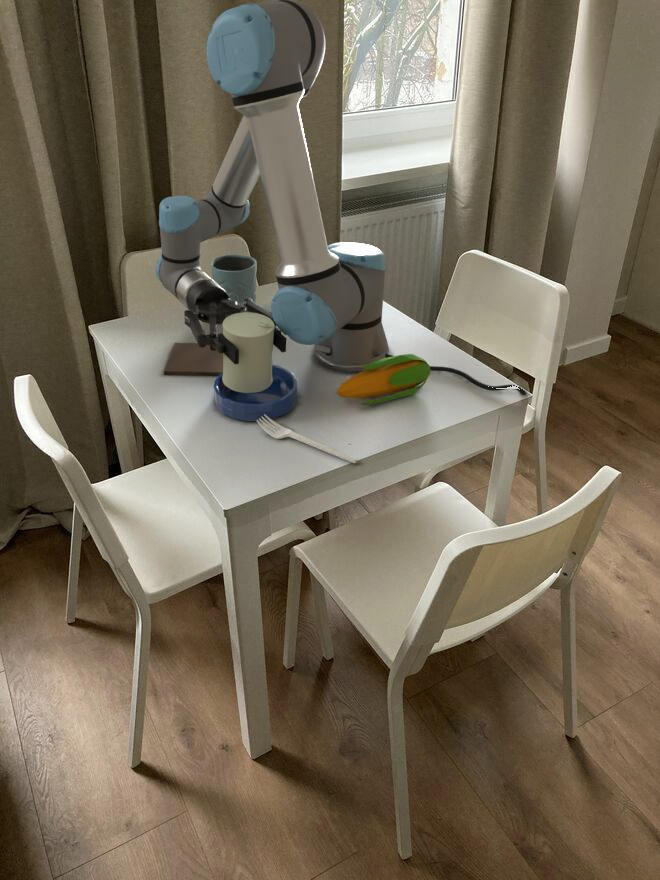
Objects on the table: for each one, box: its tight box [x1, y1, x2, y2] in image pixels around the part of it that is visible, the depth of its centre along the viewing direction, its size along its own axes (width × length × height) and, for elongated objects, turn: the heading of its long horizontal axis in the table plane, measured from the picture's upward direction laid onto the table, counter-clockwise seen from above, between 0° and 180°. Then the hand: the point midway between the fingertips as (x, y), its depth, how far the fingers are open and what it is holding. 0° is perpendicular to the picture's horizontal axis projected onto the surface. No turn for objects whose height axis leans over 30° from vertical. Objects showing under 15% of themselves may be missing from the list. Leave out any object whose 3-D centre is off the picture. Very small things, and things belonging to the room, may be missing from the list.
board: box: [163, 342, 223, 377], centre depth 151 cm, size 18×12×1 cm, turn 89°
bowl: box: [213, 364, 298, 422], centre depth 139 cm, size 15×15×4 cm
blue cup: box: [210, 253, 258, 304], centre depth 167 cm, size 10×10×12 cm
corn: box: [336, 353, 431, 407], centre depth 139 cm, size 7×8×20 cm
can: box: [222, 312, 275, 393], centre depth 134 cm, size 9×9×12 cm
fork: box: [256, 414, 358, 465], centre depth 128 cm, size 3×20×2 cm, turn 56°
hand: (261, 351), depth 130 cm, fingers closed on can, 9 cm apart
